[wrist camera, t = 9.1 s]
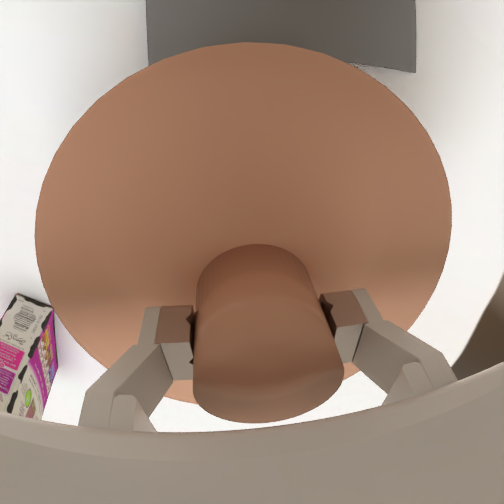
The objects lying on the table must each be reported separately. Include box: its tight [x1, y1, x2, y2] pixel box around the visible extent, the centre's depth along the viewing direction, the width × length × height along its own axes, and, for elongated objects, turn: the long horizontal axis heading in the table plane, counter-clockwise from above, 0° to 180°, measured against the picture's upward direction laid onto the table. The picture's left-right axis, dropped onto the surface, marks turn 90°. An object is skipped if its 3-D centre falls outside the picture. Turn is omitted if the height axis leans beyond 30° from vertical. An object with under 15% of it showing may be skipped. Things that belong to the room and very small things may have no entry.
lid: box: [35, 42, 452, 423], centre depth 10 cm, size 16×16×5 cm
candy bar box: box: [0, 294, 58, 420], centre depth 21 cm, size 11×5×16 cm, turn 157°
